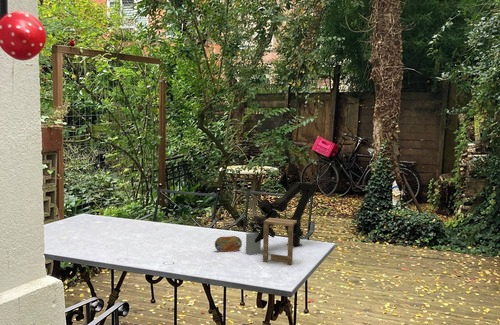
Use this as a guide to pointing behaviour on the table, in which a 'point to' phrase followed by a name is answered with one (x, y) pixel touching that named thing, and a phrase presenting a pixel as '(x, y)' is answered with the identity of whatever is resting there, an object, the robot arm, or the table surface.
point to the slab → (252, 243)
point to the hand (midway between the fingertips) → (252, 241)
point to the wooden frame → (290, 240)
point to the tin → (228, 244)
